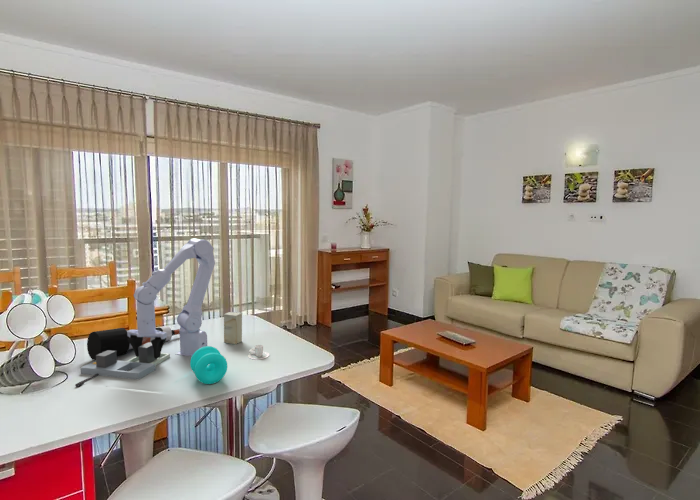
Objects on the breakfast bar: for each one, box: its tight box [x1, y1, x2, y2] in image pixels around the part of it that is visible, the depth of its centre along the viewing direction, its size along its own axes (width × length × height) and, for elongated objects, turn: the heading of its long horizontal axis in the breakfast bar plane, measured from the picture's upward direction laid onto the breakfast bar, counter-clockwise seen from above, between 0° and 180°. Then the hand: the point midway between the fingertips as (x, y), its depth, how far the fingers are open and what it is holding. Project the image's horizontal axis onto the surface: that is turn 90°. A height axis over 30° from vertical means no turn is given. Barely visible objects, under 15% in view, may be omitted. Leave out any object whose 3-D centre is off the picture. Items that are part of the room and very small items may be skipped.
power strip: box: [74, 350, 156, 388], centre depth 131 cm, size 22×16×6 cm
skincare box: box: [223, 311, 243, 345], centre depth 166 cm, size 6×4×12 cm
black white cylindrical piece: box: [86, 325, 180, 361], centre depth 158 cm, size 10×34×10 cm, turn 145°
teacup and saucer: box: [247, 344, 270, 361], centre depth 152 cm, size 9×8×4 cm
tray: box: [127, 352, 171, 367], centre depth 144 cm, size 10×10×2 cm
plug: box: [138, 342, 157, 363], centre depth 144 cm, size 4×5×6 cm
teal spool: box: [189, 345, 228, 385], centre depth 130 cm, size 10×10×10 cm
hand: (148, 356), depth 144 cm, fingers open, 7 cm apart
